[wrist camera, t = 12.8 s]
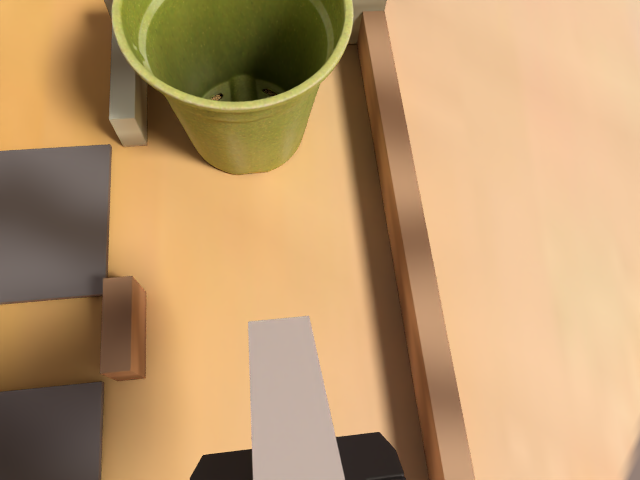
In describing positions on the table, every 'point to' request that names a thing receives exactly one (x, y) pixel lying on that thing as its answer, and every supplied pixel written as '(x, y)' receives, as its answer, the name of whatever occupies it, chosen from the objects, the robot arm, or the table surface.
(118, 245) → the table surface
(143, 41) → the plant pot
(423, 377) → the grey and wooden pieces
